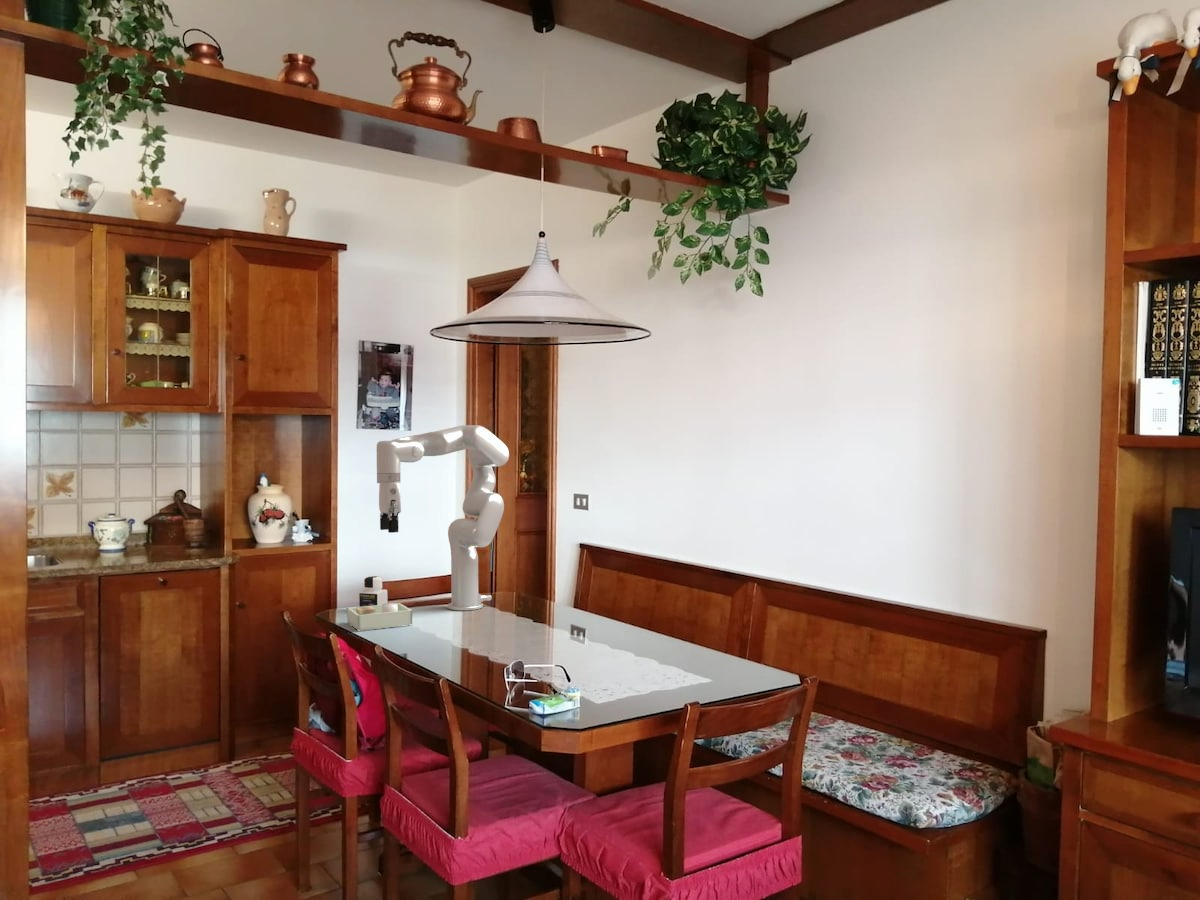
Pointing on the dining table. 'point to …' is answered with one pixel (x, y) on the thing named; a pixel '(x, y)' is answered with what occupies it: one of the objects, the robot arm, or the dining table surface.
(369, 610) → the beech cube
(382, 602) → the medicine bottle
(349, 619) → the tote
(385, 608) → the white short cylinder
